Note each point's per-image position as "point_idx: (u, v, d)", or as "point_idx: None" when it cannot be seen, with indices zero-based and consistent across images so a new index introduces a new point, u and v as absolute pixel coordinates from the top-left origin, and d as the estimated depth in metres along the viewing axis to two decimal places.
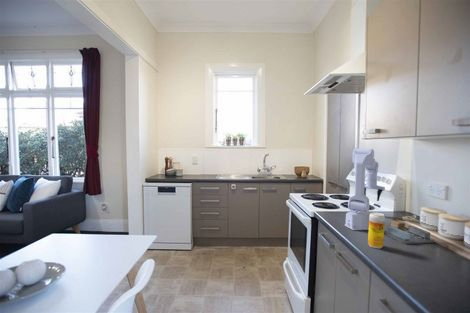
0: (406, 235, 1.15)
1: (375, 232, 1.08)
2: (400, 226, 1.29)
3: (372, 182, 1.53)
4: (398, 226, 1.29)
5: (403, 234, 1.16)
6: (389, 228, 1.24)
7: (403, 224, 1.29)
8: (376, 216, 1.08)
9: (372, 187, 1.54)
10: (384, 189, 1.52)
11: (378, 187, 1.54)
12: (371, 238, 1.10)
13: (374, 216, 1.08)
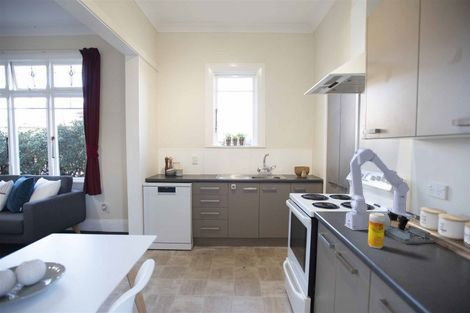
0: (406, 235, 1.15)
1: (375, 232, 1.08)
2: None
3: (396, 206, 1.29)
4: (398, 226, 1.29)
5: (403, 234, 1.16)
6: (389, 228, 1.24)
7: None
8: (376, 216, 1.08)
9: (396, 212, 1.29)
10: (409, 217, 1.24)
11: None
12: (371, 238, 1.10)
13: (374, 216, 1.08)
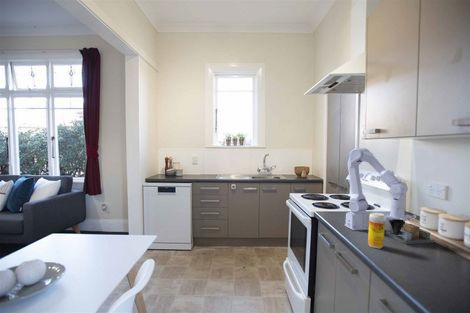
0: (408, 235, 1.15)
1: (375, 232, 1.08)
2: (415, 230, 1.19)
3: None
4: (412, 230, 1.19)
5: (405, 234, 1.16)
6: (391, 228, 1.24)
7: (417, 228, 1.19)
8: (376, 216, 1.08)
9: None
10: None
11: None
12: (371, 238, 1.10)
13: (374, 216, 1.08)
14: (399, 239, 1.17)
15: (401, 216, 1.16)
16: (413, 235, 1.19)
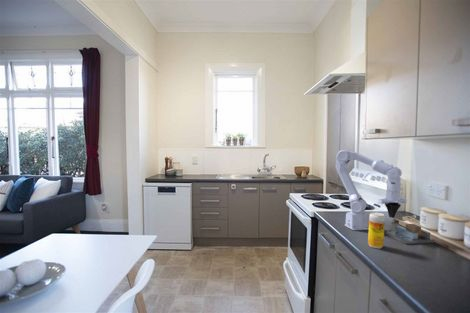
0: (414, 235, 1.16)
1: (375, 232, 1.08)
2: (416, 230, 1.19)
3: None
4: (413, 230, 1.19)
5: (411, 234, 1.16)
6: (397, 228, 1.25)
7: (419, 228, 1.19)
8: (376, 216, 1.08)
9: None
10: (379, 201, 1.23)
11: (385, 200, 1.24)
12: (371, 238, 1.10)
13: (374, 216, 1.08)
14: (399, 239, 1.17)
15: (396, 199, 1.21)
16: None
